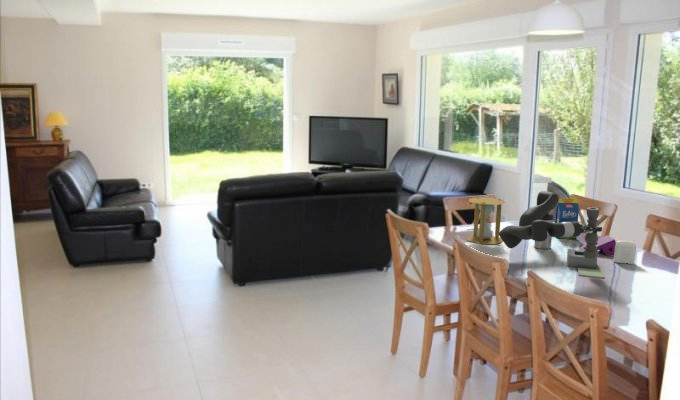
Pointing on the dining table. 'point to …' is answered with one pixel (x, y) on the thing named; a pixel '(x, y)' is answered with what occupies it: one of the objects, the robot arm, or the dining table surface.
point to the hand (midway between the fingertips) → (598, 228)
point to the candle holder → (593, 238)
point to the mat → (591, 273)
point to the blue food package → (567, 212)
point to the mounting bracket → (604, 245)
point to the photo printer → (625, 252)
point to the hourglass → (484, 232)
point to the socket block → (580, 260)
